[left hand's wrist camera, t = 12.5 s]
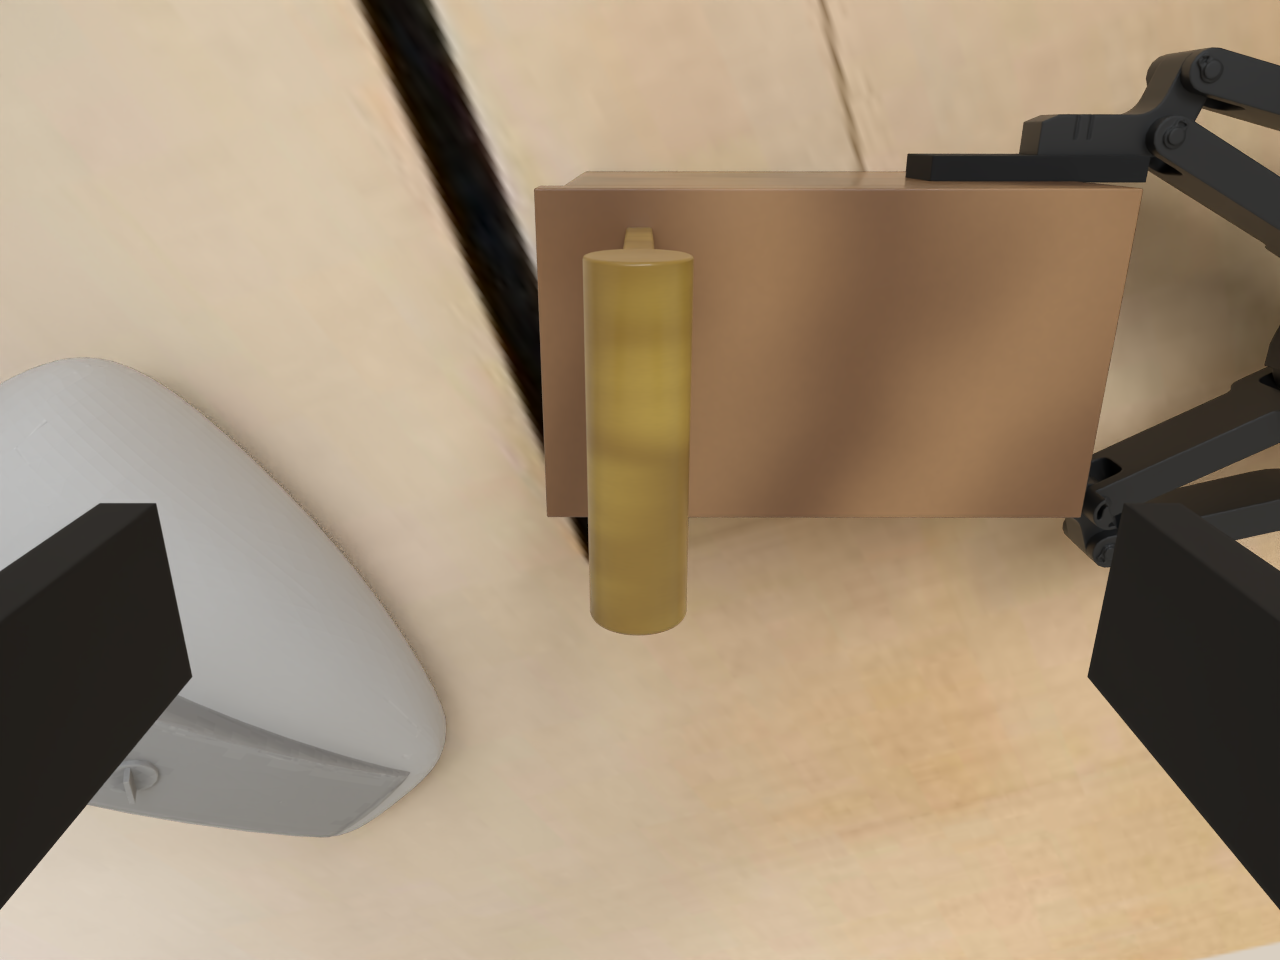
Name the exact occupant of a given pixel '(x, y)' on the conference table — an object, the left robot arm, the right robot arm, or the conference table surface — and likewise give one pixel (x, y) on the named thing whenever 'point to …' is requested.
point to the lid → (816, 360)
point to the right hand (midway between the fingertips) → (901, 327)
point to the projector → (226, 613)
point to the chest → (785, 179)
